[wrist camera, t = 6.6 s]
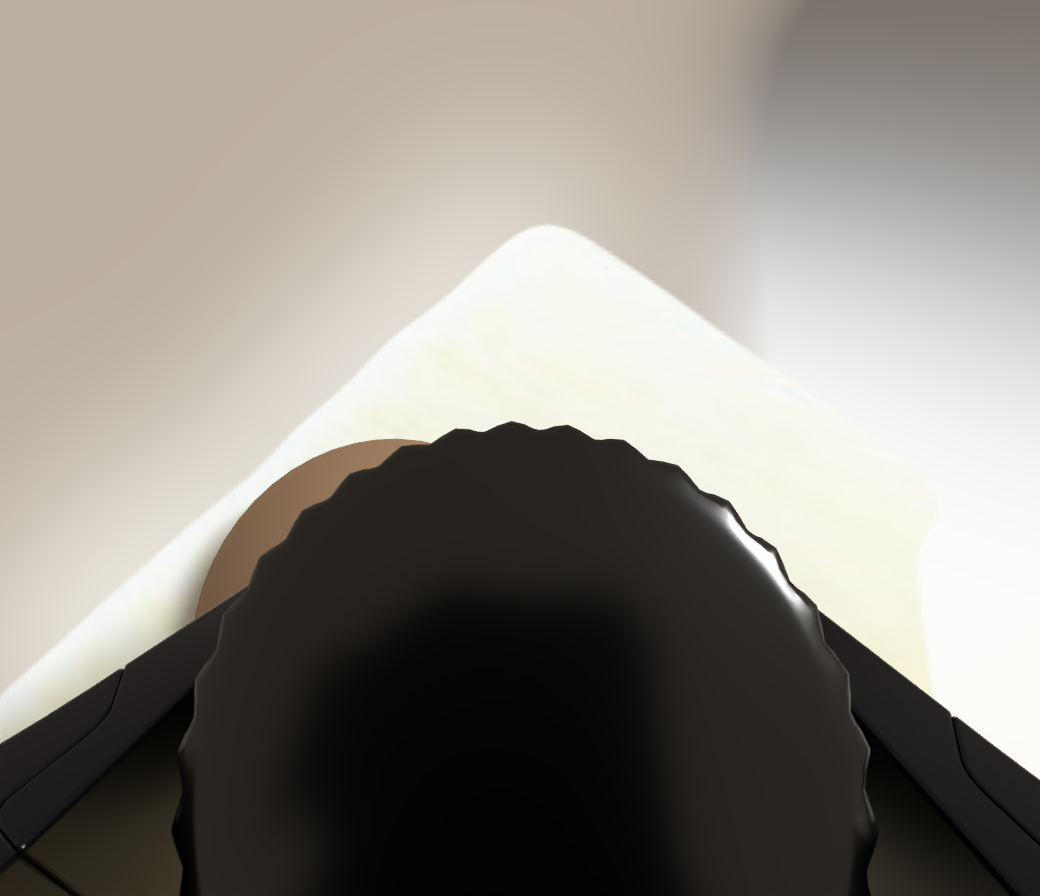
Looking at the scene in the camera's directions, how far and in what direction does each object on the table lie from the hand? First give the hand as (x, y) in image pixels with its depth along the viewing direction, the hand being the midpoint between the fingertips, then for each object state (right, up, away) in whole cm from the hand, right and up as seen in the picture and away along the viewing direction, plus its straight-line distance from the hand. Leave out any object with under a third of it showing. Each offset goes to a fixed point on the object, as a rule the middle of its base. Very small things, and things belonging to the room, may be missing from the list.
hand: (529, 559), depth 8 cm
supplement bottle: (0, -3, +6) cm, 7 cm away
